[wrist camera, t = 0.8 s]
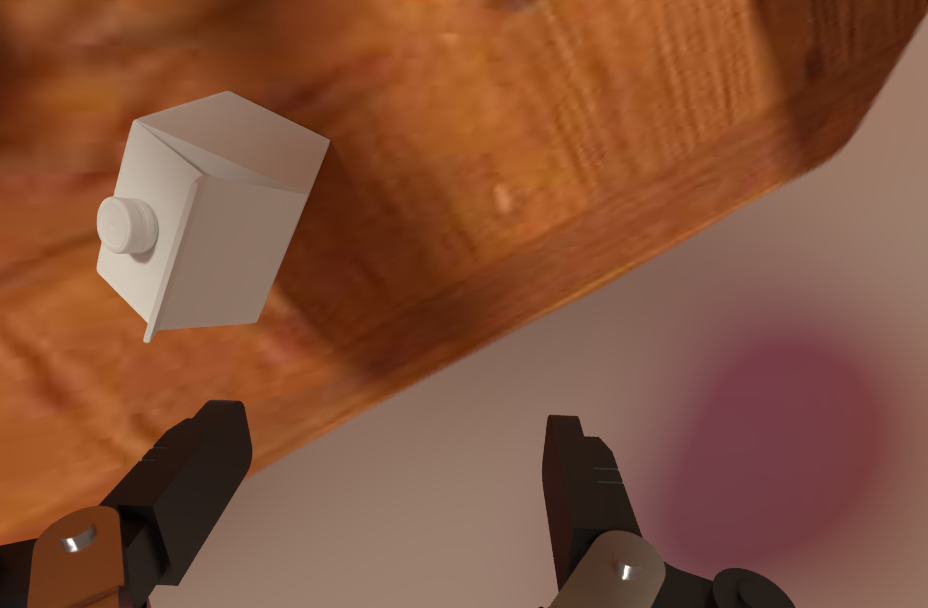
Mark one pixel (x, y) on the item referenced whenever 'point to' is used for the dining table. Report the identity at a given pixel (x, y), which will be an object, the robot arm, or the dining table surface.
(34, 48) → the dining table surface
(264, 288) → the milk carton
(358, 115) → the dining table surface
